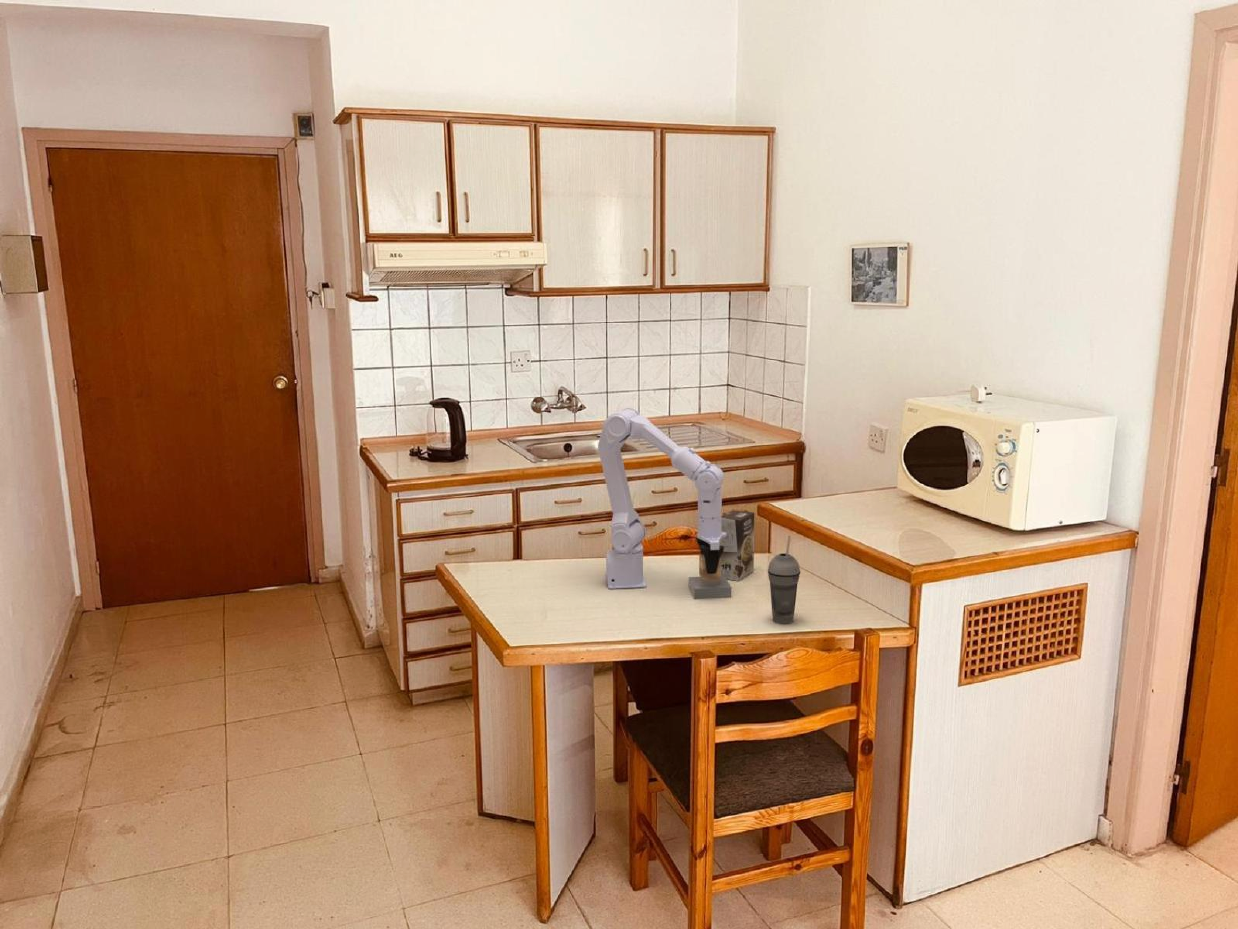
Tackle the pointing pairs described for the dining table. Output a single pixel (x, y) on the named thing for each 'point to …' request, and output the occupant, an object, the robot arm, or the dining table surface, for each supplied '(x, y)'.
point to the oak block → (703, 570)
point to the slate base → (709, 588)
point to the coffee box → (737, 545)
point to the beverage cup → (783, 586)
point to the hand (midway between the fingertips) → (709, 570)
